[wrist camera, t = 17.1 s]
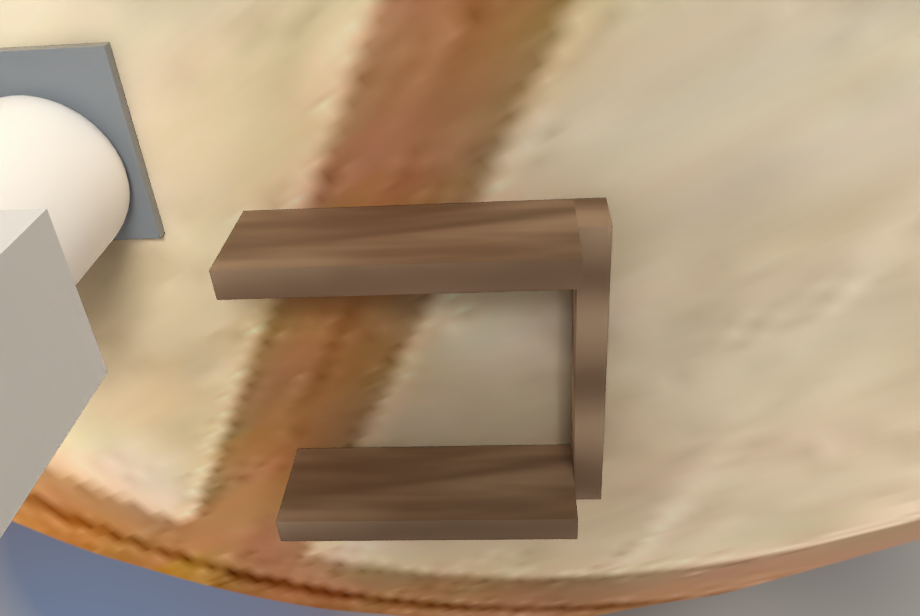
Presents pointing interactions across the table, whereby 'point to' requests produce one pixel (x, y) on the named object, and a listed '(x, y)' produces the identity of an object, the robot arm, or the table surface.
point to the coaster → (88, 111)
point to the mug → (62, 175)
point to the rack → (428, 272)
